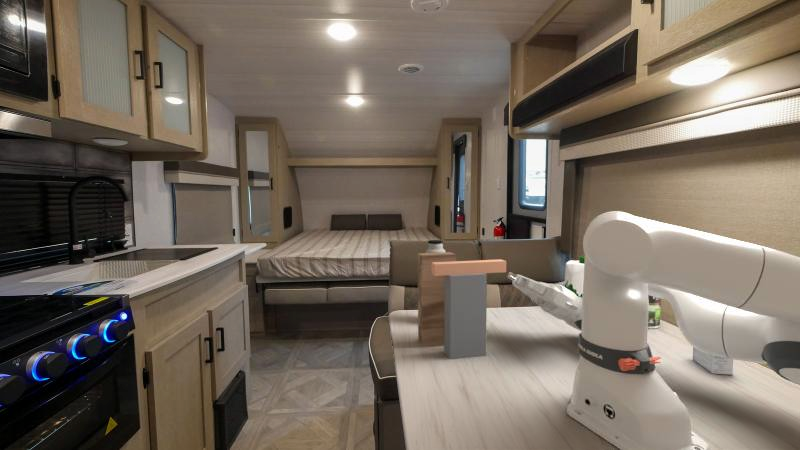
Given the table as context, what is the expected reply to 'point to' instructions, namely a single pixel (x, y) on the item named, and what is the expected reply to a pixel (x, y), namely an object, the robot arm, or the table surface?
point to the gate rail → (468, 267)
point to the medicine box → (713, 362)
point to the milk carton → (575, 276)
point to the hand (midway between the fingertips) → (518, 278)
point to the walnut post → (431, 299)
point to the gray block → (465, 315)
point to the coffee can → (654, 312)
